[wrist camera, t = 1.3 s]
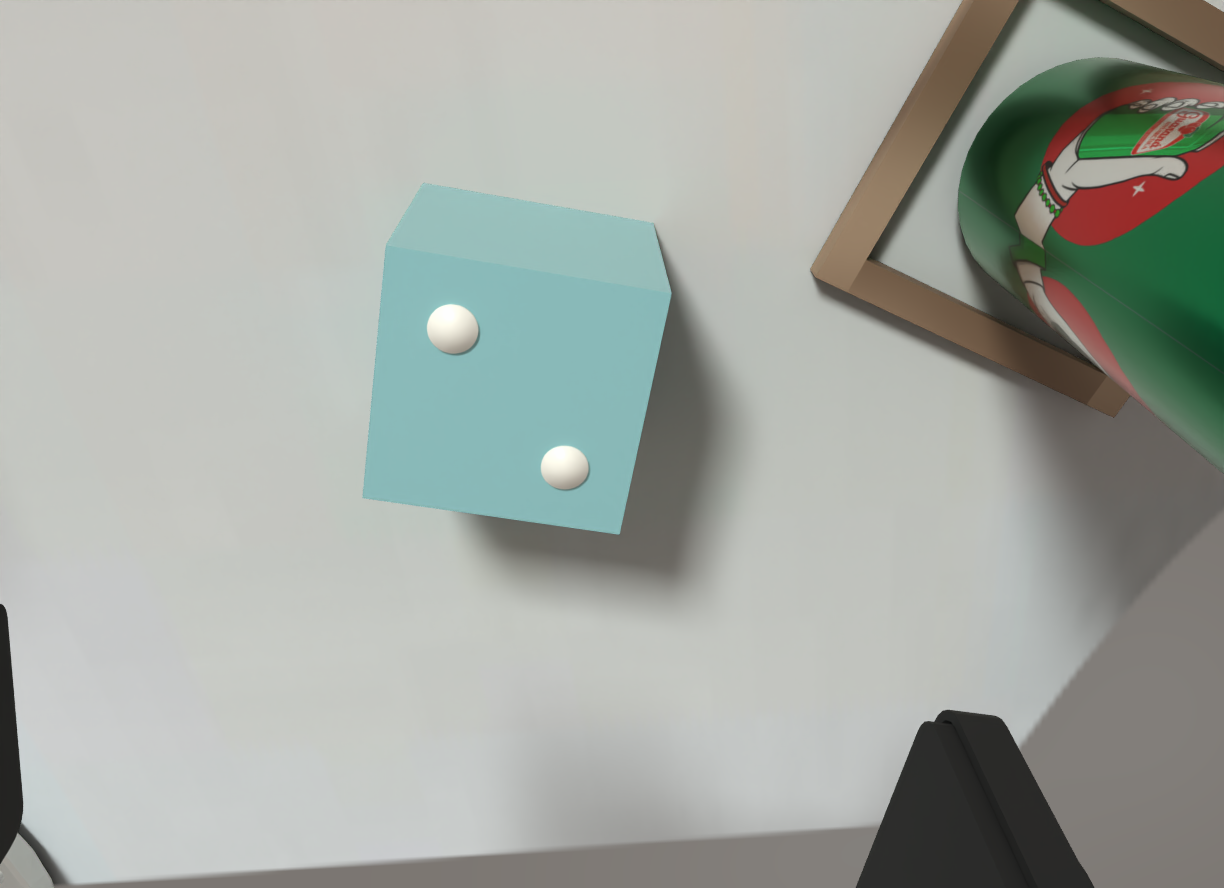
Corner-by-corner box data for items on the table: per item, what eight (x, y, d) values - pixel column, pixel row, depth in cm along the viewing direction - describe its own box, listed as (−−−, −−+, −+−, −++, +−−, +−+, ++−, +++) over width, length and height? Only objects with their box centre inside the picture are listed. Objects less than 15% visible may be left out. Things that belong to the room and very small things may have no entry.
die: (612, 426, 25) (619, 536, 21) (401, 393, 25) (361, 500, 20) (652, 222, 23) (671, 294, 19) (423, 182, 23) (385, 246, 18)
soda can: (1160, 285, 24) (1636, 578, 13) (937, 296, 24) (1234, 598, 13) (1206, 48, 22) (1826, 169, 11) (961, 59, 22) (1342, 192, 11)
